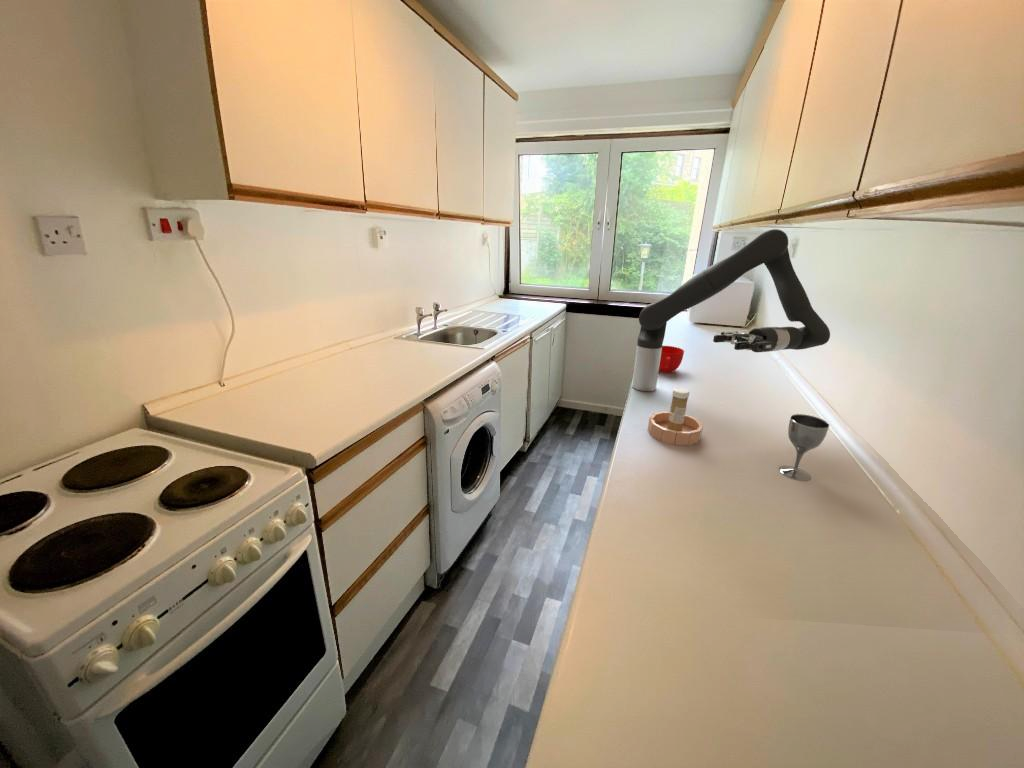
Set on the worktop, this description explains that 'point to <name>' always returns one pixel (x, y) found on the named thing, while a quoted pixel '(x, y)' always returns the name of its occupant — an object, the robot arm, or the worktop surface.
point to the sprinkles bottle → (678, 409)
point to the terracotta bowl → (685, 437)
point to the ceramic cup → (670, 359)
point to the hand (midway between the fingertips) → (724, 342)
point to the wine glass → (804, 441)
